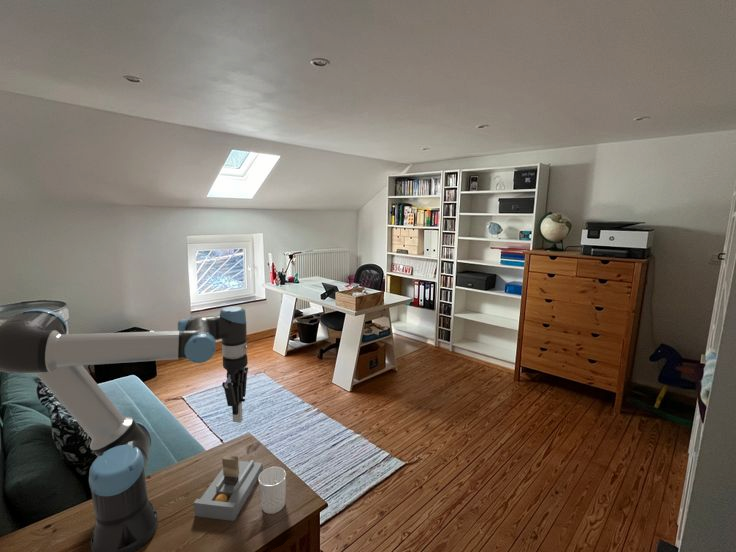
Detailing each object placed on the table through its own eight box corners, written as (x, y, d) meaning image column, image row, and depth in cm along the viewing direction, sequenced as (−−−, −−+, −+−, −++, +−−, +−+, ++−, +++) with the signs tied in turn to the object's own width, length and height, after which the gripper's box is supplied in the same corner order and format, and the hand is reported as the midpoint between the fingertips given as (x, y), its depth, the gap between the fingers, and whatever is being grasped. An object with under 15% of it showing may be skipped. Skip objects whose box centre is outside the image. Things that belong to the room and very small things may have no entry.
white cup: (280, 518, 104) (278, 488, 102) (255, 513, 106) (253, 483, 104) (291, 496, 112) (290, 468, 110) (267, 492, 113) (266, 464, 111)
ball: (211, 503, 105) (216, 491, 108) (214, 509, 107) (220, 496, 110) (222, 505, 105) (227, 492, 107) (225, 510, 107) (230, 497, 109)
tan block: (226, 478, 114) (224, 455, 113) (239, 480, 114) (238, 456, 112) (223, 483, 112) (221, 459, 111) (236, 485, 112) (235, 461, 110)
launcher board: (229, 467, 124) (228, 455, 123) (262, 470, 122) (262, 459, 122) (194, 516, 104) (193, 502, 104) (234, 520, 103) (233, 507, 102)
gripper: (235, 363, 109) (238, 434, 114) (255, 348, 122) (256, 411, 126) (212, 361, 110) (216, 431, 115) (234, 346, 123) (236, 409, 127)
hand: (237, 421), depth 120 cm, fingers closed
